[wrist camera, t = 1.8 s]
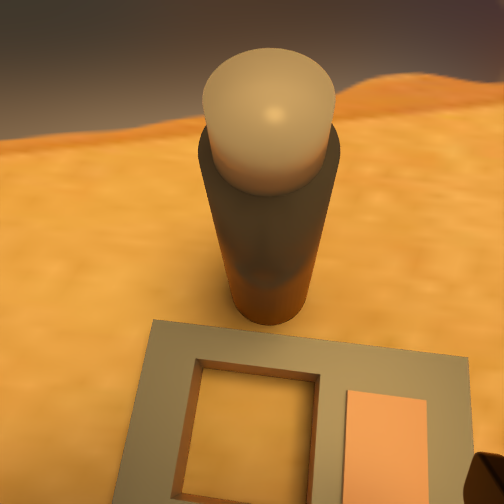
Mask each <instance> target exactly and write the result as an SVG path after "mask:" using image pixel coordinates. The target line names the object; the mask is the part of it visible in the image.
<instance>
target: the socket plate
mask: <svg viewBox="0 0 504 504" xmlns="http://www.w3.org/2000/svg"><path fill="white" fill-rule="evenodd" d="M203 368H209V369H217V370H225V371H233V372H240V373H248V374H256V375H263V376H271V377H279V378H287V379H294V380H302V381H310V382H315V391H314V404H313V418H312V432H311V446H310V459H309V473H308V487H307V500H306V504H464V500H463V486H464V483H465V480H466V476H467V473H468V470H469V467H470V464H471V461H472V458H473V456H474V445H473V429H472V412H471V396H470V380H469V363H468V357H460V356H452V355H444V354H436V353H427V352H419V351H411V350H403V349H394V348H386V347H378V346H370V345H361V344H353V343H345V342H337V341H328V340H320V339H312V338H304V337H295V336H287V335H279V334H271V333H262V332H254V331H246V330H238V329H229V328H221V327H213V326H205V325H196V324H188V323H180V322H172V321H163V320H155V319H153V323H152V327H151V332H150V336H149V340H148V345H147V349H146V354H145V358H144V363H143V367H142V371H141V376H140V380H139V385H138V389H137V394H136V398H135V402H134V407H133V411H132V416H131V420H130V425H129V429H128V434H127V438H126V442H125V447H124V451H123V456H122V460H121V465H120V469H119V473H118V478H117V482H116V487H115V491H114V496H113V500H112V504H249V503H243V502H236V501H230V500H223V499H217V498H210V497H204V496H197V495H191V494H184V493H182V488H183V482H184V476H185V470H186V464H187V458H188V453H189V447H190V441H191V435H192V429H193V424H194V418H195V412H196V406H197V400H198V395H199V389H200V383H201V377H202V371H203Z"/></svg>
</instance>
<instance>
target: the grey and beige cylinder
mask: <svg viewBox="0 0 504 504" xmlns="http://www.w3.org/2000/svg"><path fill="white" fill-rule="evenodd" d="M202 102H203V110H204V115H205V120H206V126H205V128H204V130H203V132H202V134H201V137H200V141H199V146H198V159H199V164H200V168H201V172H202V176H203V180H204V185H205V189H206V193H207V197H208V201H209V205H210V209H211V213H212V217H213V221H214V225H215V229H216V233H217V237H218V241H219V245H220V249H221V253H222V258H223V262H224V266H225V270H226V274H227V278H228V282H229V286H230V290H231V294H232V298H233V301H234V303H235V305H236V307H237V309H238V310H239V311H240V313H241V314H242V315H243V316H245V317H246V318H247V319H249V320H251V321H253V322H255V323H258V324H262V325H277V324H281V323H284V322H286V321H288V320H290V319H291V318H293V317H294V316H295V315H296V314H297V313H298V312H299V311H300V310H301V308H302V307H303V305H304V303H305V300H306V297H307V292H308V288H309V284H310V280H311V276H312V272H313V268H314V263H315V259H316V255H317V251H318V247H319V243H320V239H321V235H322V230H323V226H324V222H325V218H326V214H327V210H328V206H329V201H330V197H331V193H332V189H333V185H334V181H335V177H336V172H337V168H338V164H339V159H340V143H339V138H338V135H337V132H336V130H335V128H334V126H333V124H332V118H333V113H334V108H335V90H334V86H333V84H332V81H331V79H330V78H329V76H328V75H327V73H326V72H325V71H324V69H323V68H321V66H319V65H318V64H317V63H315V61H313V60H311V59H310V58H308V57H306V56H304V55H302V54H300V53H297V52H294V51H290V50H285V49H278V48H263V49H255V50H250V51H246V52H243V53H240V54H238V55H236V56H234V57H232V58H230V59H228V60H227V61H225V62H224V63H222V64H221V65H220V66H219V67H218V68H217V69H216V70H215V71H214V72H213V73H212V74H211V76H210V77H209V79H208V81H207V83H206V85H205V88H204V91H203V98H202Z"/></svg>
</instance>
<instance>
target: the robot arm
mask: <svg viewBox="0 0 504 504" xmlns="http://www.w3.org/2000/svg"><path fill="white" fill-rule="evenodd" d="M463 500H464V504H504V457H503V456H502V455H499V454H494V453H487V452H477V453H475V454H474V456H473V458H472V461H471V464H470V467H469V470H468V473H467V476H466V480H465V483H464V486H463Z"/></svg>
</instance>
